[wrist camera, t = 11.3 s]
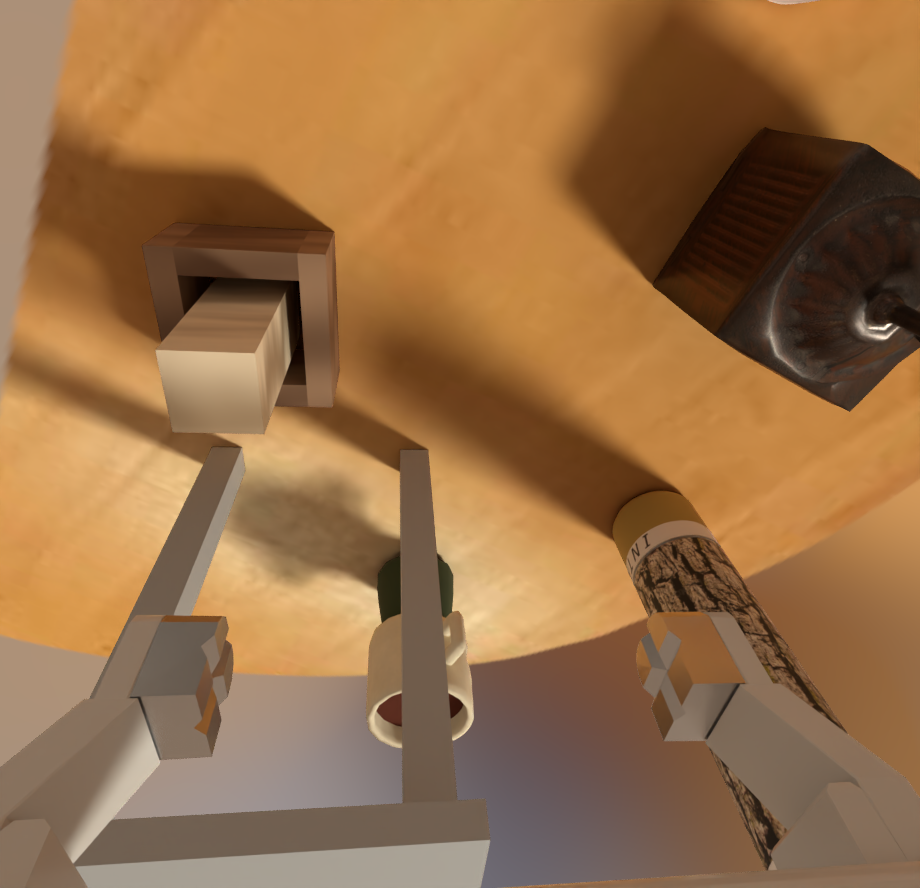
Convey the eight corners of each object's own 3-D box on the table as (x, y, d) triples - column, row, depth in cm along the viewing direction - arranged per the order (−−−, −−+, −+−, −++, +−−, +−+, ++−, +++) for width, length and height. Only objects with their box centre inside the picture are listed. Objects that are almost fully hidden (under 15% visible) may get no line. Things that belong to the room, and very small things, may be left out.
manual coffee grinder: (769, 355, 41) (987, 523, 26) (646, 285, 37) (815, 432, 22) (956, 133, 34) (1400, 183, 19) (826, 22, 31) (1246, -24, 16)
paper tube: (690, 476, 46) (935, 817, 25) (692, 539, 50) (908, 881, 29) (605, 498, 47) (776, 851, 26) (613, 558, 50) (770, 910, 29)
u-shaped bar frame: (196, 402, 39) (-89, 877, 16) (437, 407, 41) (490, 840, 18) (209, 476, 42) (-13, 960, 19) (433, 478, 44) (473, 921, 21)
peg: (225, 267, 34) (155, 350, 24) (295, 271, 35) (254, 353, 25) (234, 332, 37) (172, 432, 27) (300, 334, 37) (264, 433, 27)
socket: (174, 222, 33) (141, 245, 29) (334, 231, 34) (325, 254, 30) (199, 366, 38) (174, 403, 33) (339, 370, 39) (332, 407, 34)
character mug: (418, 627, 53) (424, 774, 42) (346, 602, 50) (332, 750, 39) (486, 547, 48) (513, 686, 37) (411, 514, 46) (416, 654, 35)
